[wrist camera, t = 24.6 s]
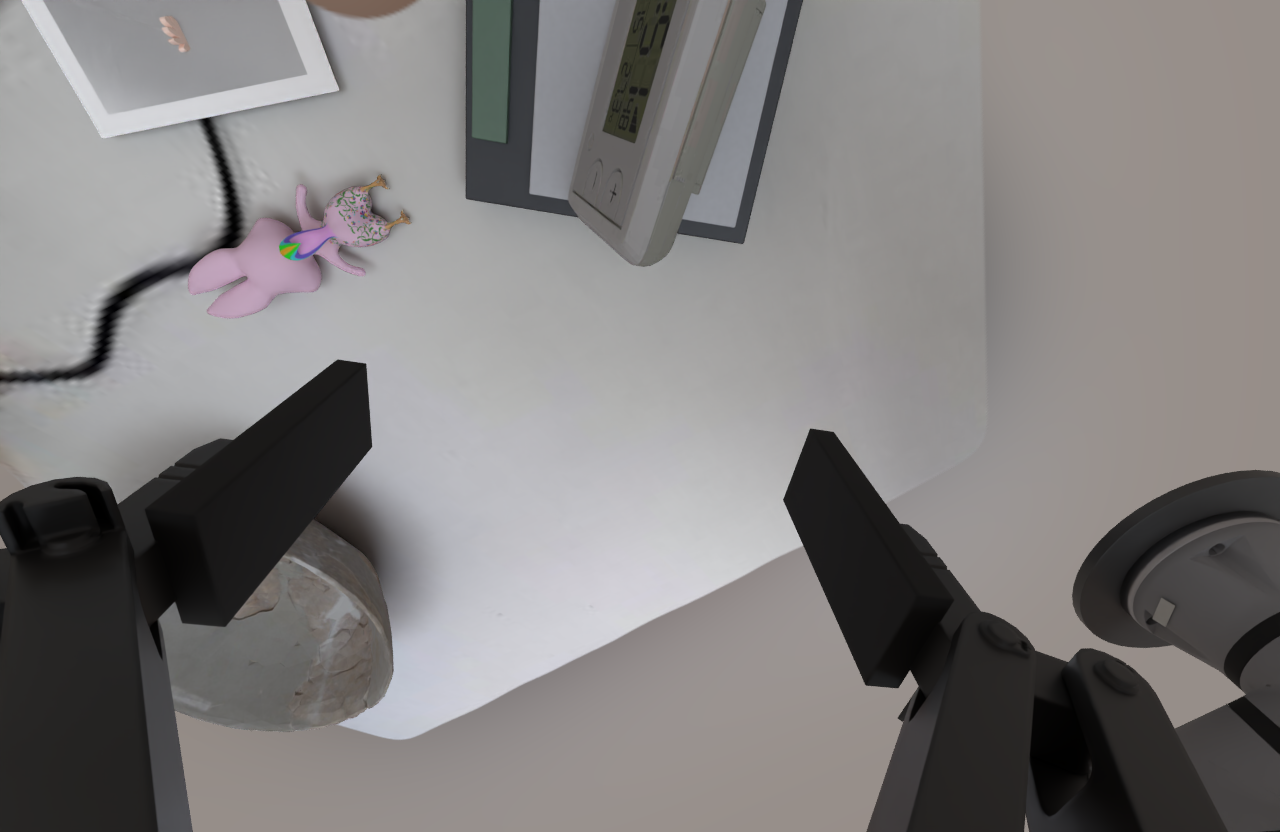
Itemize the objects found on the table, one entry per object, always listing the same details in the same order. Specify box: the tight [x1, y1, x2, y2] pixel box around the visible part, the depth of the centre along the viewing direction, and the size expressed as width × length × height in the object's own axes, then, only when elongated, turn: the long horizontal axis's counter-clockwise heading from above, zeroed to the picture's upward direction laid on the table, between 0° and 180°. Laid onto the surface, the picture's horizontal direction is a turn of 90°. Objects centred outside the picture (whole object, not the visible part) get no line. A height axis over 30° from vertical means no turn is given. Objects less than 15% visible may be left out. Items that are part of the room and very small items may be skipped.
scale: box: [466, 0, 803, 244], centre depth 30 cm, size 18×18×3 cm
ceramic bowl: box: [159, 519, 393, 732], centre depth 44 cm, size 22×23×10 cm
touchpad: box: [21, 0, 340, 139], centre depth 29 cm, size 8×15×2 cm, turn 100°
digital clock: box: [568, 0, 766, 267], centre depth 25 cm, size 16×9×11 cm, turn 150°
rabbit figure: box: [188, 174, 412, 318], centre depth 33 cm, size 6×6×15 cm
